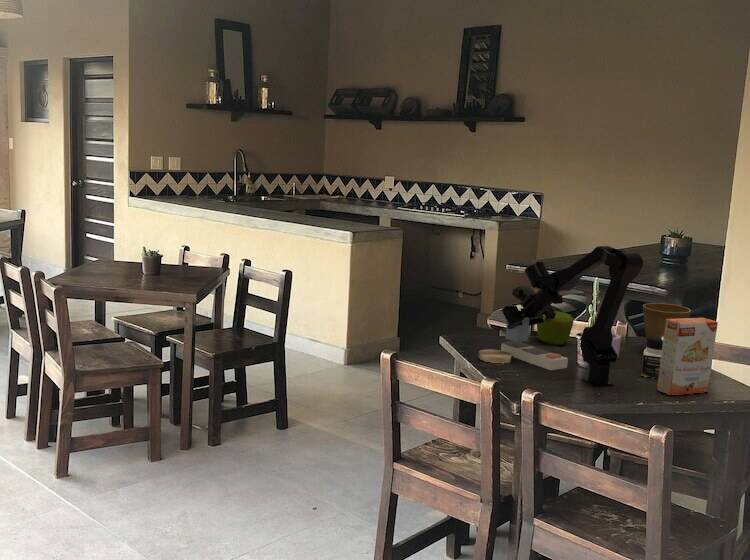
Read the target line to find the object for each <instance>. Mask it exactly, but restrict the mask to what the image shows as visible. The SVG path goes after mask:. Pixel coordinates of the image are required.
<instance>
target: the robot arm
mask: <svg viewBox="0 0 750 560" xmlns="http://www.w3.org/2000/svg"><path fill="white" fill-rule="evenodd" d="M602 264H603V265H605V266H607V267H608V273H609V278H610V279H609V282H608V284H607V288H606V291H605V294H604V296H603V300H602V302H601V304H600V307H599V310H598V313H597V316H596V319H595V320H594V322H593V325H591V326H585V327H584V328H583V334H582V337H581V336H580V337H579V340H580V341H581V343H579V348H580V347H581V350H582V355H581V356H582V361H583V362H585V363H586V364H588V365H587V373H586V374H587V375H586V377H582V378H581V380H582V381H584V382H586V383H588V384H589V385H591V386H593V387H594V386H597V387H599V386H613V385H614V384H613V383H612V382H611V381H609V377H610V367H611V363H616V362H617V360H618V359H619V358H618V355H617V354H616V352H615V350H614V348H613V347H612V340H613V336H612V331H611V329H613V326H614V323H615V320H616V318H617V315H618V313H619V309H620V306H621V305H622V302H623V299H624V297H625V294H626V292H627V289H628V286H629V285H630V284H631V283H632V282H633V281H634V280H635V279H636V278H637V277H638V275H639V274H640V272H641V270H642V268H643V266H644V260H643V258H642V256H641V254H640V253H639V252H637V251H626V250H623V249H618V248H614V247H611V246H609V245H598V246H596V247H595V248H594V249H593V250H592V251H590V252H589V253H587V254H585V255H584V256H583V257H582V258H580V259H578V260H577V261H576V262H574V263H572V264H571V265H570V266H567V267H566V268H562V269H559V270H555V271H554V272H550V273H549V271H548V270H547V268H546V266H545V263H544V261H537V262H536V263H534V264H530V266H527V267H526V268H525V269H524V274H525V275H526V278H527V279H528V281H529V283H530V285H531V287H532V288H534V289H537V292H535V291H534V290H533V289H532V288H531V287H530V286H528V285H518V286H515V288H513V289H512V294H511V295H512V296H513V297H514V298H515V299H518V301H520V304H519V305H520V306H521V307H522V308H519V309H520V310H519V309H518V306H517V305H516V304H506V305H504V306H503V307H502V309H501V312H502V314H503V316H504V318H505V320H506V323H507V322H508V326H507V325H506V326H507V327H508V329H509V330H510V329H513V328H515V327H518V326H521V325H523V323H522V320H524V318H529V319H530V321H529V327H531V326H535V325H536V326H537V324H539V323H543V322H544V320H543V315H544V314H545V316H546V318H545V321H546V322H548V321H552V320H553V319H554V318H555V313H554V311H555V310H554V309H553V308H552V306H551V305H557V304H558V305H560V304H563V303H564V299H563V294H560V292H569V291H572V290H573V289H574V287H575V286H577V285H578V284H579V280H580V279H581V278H583V277H584V276H586V275H587V274H589V273H590V272H592V271H594V269H597V268H598V267H600V266H601V265H602ZM617 358H618V359H617Z"/></svg>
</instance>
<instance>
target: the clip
mask: <svg viewBox="0 0 750 560" xmlns="http://www.w3.org/2000/svg"><path fill="white" fill-rule="evenodd" d="M611 331H612V336H613V340H612V347H613V348H614V350H615V352H616V354H617V355H618V359H619V356H620V349H621V340H622V339H621V338H622V336H621V335H619V334H617V333H615V329H613V328H612V329H611ZM582 334H583V331H581V333H580V337H581V336H582Z"/></svg>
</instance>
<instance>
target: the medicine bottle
mask: <svg viewBox="0 0 750 560" xmlns="http://www.w3.org/2000/svg"><path fill="white" fill-rule="evenodd" d="M663 338H664V337H662V336H649V337H648V338H646V347H645V349H644V350H643V355H642V356H643V357H642V365H641V370H640V371H641V373H640V377H641V376H644V377H643V378H647V377H652V378H651V379H654V378H658V376H659V368H660V361H661V353H662V346H663Z"/></svg>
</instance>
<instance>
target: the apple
mask: <svg viewBox="0 0 750 560" xmlns="http://www.w3.org/2000/svg"><path fill="white" fill-rule="evenodd" d="M553 311H554V313H555V318H554V319H553V320H552V321H548V322H546V321H545V318H546V316H545V314H544V315H543V320H544V322H543V323H539V324H536V329H537V330H536V331H537V337H538V339H539V340H540V341H542V342H543V343H545V344H549V345H553V346H562V345H564V344H565V343H567V342H568V341H569V340H570V336H571V332H572V328H573V327H574V326H573V325H574V317H573V316H572V314H569V313H567V312H564V311H563V312H562V311H557V310H553Z"/></svg>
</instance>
